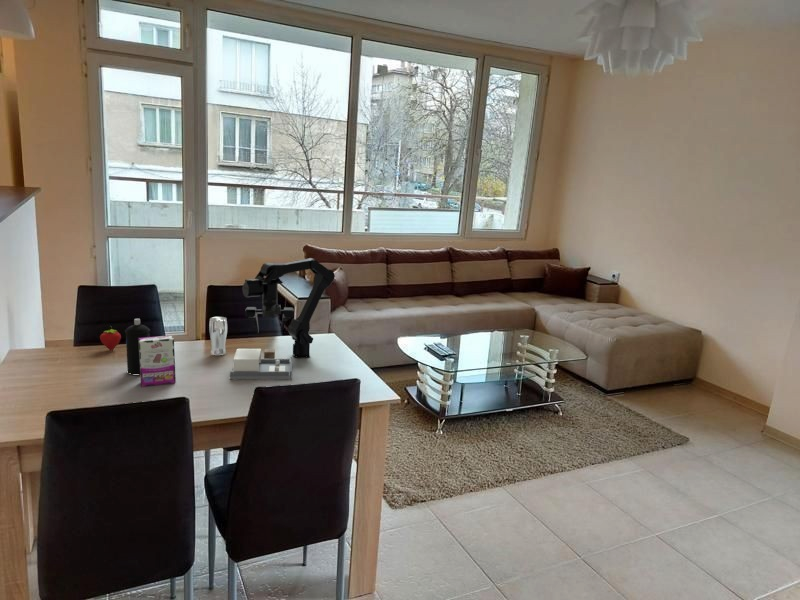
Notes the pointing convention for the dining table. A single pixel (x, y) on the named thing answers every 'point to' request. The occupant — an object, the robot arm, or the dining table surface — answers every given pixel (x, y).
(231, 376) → the housing base
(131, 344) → the black bottle
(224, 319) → the beer glass
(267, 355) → the walnut block
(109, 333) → the strawberry
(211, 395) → the dining table surface
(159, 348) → the candy bar box
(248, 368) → the cover
